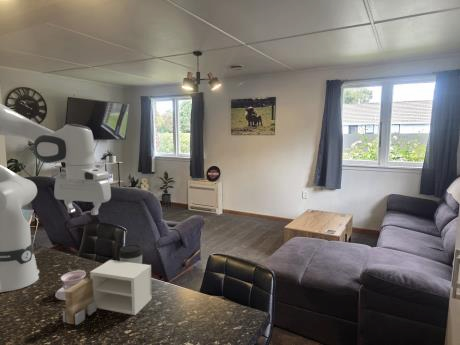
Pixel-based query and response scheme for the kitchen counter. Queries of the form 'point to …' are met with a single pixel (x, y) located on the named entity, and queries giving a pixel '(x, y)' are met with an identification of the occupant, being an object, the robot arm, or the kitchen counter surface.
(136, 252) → the coffee cup
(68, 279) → the teacup
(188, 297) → the kitchen counter surface
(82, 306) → the door
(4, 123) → the robot arm
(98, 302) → the cabinet
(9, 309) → the kitchen counter surface
